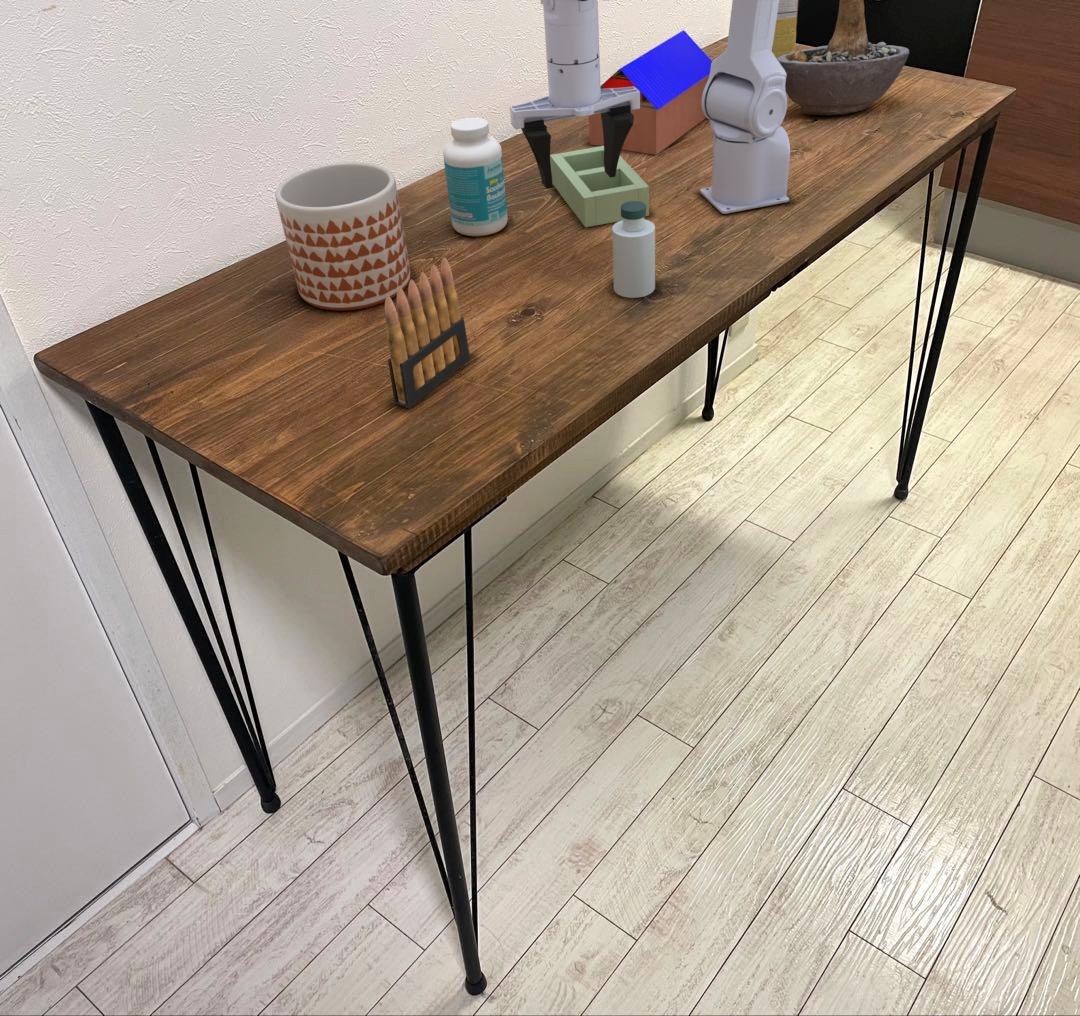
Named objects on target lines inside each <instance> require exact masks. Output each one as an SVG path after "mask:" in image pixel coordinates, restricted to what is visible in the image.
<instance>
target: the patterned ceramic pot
mask: <svg viewBox="0 0 1080 1016" xmlns="http://www.w3.org/2000/svg"><path fill="white" fill-rule="evenodd" d="M398 194H399V193H398V188H397V182H396V177H395V175H394V174H393V172H392V171H391V170H389V169H388V168H386V167H384V166H382V165H379V164H375V163H371V162H364V161H363V162H361V161H339V162H331V163H324V164H320V165H315V166H313V167H310V168H305V169H303V170H300V171H297V172H295V173H293V174H292V175H289V176H288V177H287V178H285V179H283V180H282V181H281V182H280V183H279V184H278V186H277V187H276V189H275V193H274V197H275V201H276V205H277V209H278V214H279V218H280V222H281V227H282V230H283V234H284V239H285V242H286V247H287V250H288V255H289V258H290V263H291V266H292V270H293V274H294V279H295V282H296V287H297V290H298V294H299V296H300V297H301V299H302V300H303V301H304V302H305V303H307V304H309V305H310V306H313V307H315V308H317V309H321V310H327V311H338V312H339V311H343V312H344V311H355V310H361V309H366V308H370V307H374V306H377V305H381V304H382V303H385V300H386V297H387V296H389V297H390V298H391V299H393V298H395V297H397V291H398V288H401V289H402V290H403V291H404V290H405V289H406V287H408V286H409V282H410V280H411V275H412V274H411V268H410V262H409V255H408V248H407V243H406V236H405V229H404V225H403V219H402V212H401V205H400V200H399V195H398Z"/></svg>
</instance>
